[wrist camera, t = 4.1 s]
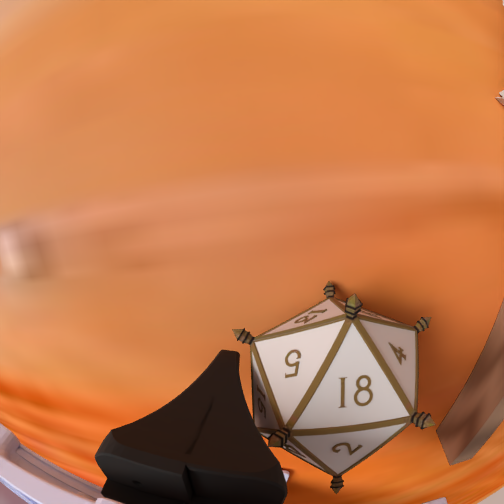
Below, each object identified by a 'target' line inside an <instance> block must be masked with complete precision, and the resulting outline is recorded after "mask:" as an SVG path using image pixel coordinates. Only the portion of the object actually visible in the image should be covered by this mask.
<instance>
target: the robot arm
mask: <svg viewBox="0 0 504 504" xmlns="http://www.w3.org/2000/svg"><path fill="white" fill-rule="evenodd" d="M239 358H240V354H239V353H238V352H237V351H229V350H221V351H220V352H219V353H218V355H217V356H216V357H215V359H214V360H213V361H212V363H211V364H210V365H209V366H208V367H207V369H206V370H205V371H204V372H203V373H202V374H201V375H200V376H199V377H198V378H197V379H196V380H195V381H194V382H193V383H192V384H191V385H190V386H189V387H188V388H187V389H186V390H185V391H183V392H182V393H181V394H180V395H178V396H177V397H176V398H175V399H173V400H172V401H170V402H169V403H168V404H166V405H164V406H163V407H161V408H160V409H158V410H157V411H155V412H153V413H151V414H149V415H147V416H145V417H143V418H141V419H139V420H137V421H135V422H133V423H130V424H127V425H124V426H122V427H119V428H116V429H112V430H111V431H110V432H109V434H108V435H107V436H106V438H105V439H104V440H103V442H102V444H101V445H100V447H99V449H98V451H97V453H96V454H95V460H96V462H97V464H98V465H99V467H100V468H101V470H102V471H103V473H104V474H105V475H106V477H107V480H106V482H105V484H104V486H103V488H102V487H99V486H97V485H95V484H93V483H90V482H88V481H86V480H84V479H82V478H80V477H78V476H76V475H74V474H72V473H70V472H68V471H66V470H64V469H62V468H60V467H58V466H57V465H55V464H53V463H51V462H50V461H48V460H46V459H44V458H43V457H41V456H39V455H38V454H36V453H35V452H33V451H31V450H30V449H28V448H27V447H25V446H24V445H22V444H21V443H20V441H19V440H18V438H17V437H16V436H15V435H14V434H13V433H12V432H11V431H10V430H9V429H8V428H6V427H5V426H3V425H2V424H1V423H0V482H2V483H3V484H4V485H5V486H7V487H8V488H9V489H10V490H11V491H13V492H14V493H15V494H17V495H18V496H19V497H21V498H22V499H23V500H25V501H26V502H27V503H29V504H283V502H284V500H285V498H286V496H287V484H286V483H287V480H288V478H289V472H288V471H286V470H282V468H281V465H280V462H279V461H278V460H277V459H276V457H275V456H274V455H273V453H272V452H271V450H270V449H269V448H268V446H267V444H266V443H265V441H264V440H263V438H262V436H261V434H260V433H259V431H258V429H257V427H256V425H255V423H254V421H253V419H252V416H251V414H250V412H249V409H248V406H247V404H246V401H245V397H244V394H243V390H242V386H241V381H240V376H239ZM422 504H447V500H446V497H442V498H439V499H436V500H432V501H429V502H425V503H422Z"/></svg>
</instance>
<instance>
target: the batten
mask: <svg viewBox="0 0 504 504" xmlns="http://www.w3.org/2000/svg"><path fill="white" fill-rule="evenodd" d="M503 419H504V300H503V303H502V306H501V308H500V311H499V314H498V316H497V319H496V321H495V324H494V326H493V329H492V331H491V333H490V336H489V338H488V340H487V343H486V345H485V347H484V349H483V351H482V353H481V355H480V358H479V360H478V362H477V364H476V366H475V367H474V369H473V371H472V373H471V375H470V377H469V379H468V381H467V382H466V384H465V386H464V388H463V389H462V391H461V393H460V395H459V396H458V398H457V400H456V401H455V403H454V404H453V406H452V408H451V409H450V411H449V412H448V414H447V415H446V417H445V418H444V420H443V421H442V423H441V424H440V426H439V427H438V429H437V430H436V432H437V434H438V437H439V439H440V442H441V444H442V447H443V449H444V452H445V454H446V457H447V460H448V462H449V465H453V464H456V463H460V462H463V461H466V460H469V459H471V458H472V457H473V456H474V455H475V454H476V453H477V452H478V451H479V449H480V448H481V447H482V446H483V445H484V444H485V442H486V441H487V440H488V439H489V438H490V436H491V435H492V434H493V433H494V431H495V430H496V429H497V427H498V426H499V425H500V423H501V422H502V421H503Z"/></svg>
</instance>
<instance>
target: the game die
mask: <svg viewBox="0 0 504 504" xmlns="http://www.w3.org/2000/svg"><path fill="white" fill-rule="evenodd" d="M323 290H325V293H324V295H326V297H327V299H325V300H323V301H322V302H320V303H318V304H316V305H315V306H313V307H311V308H309V309H307V310H306V311H304V312H302V313H300V314H298V315H296V316H295V317H293V318H291V319H289V320H287V321H285V322H283V323H281V324H280V325H278V326H276V327H274V328H272V329H270V330H268V331H266V332H264V333H262V334H260V335H258V336H256V337H253V336H252V335H251V334H250V332H247V331H245V328H244V329H232V330H233V332H234V334H235V336H236V338H237V341H238V340H240V341H242V343H248V344H249V345H250V353H251V380H252V406H253V421H254V423H255V425H256V427H257V429H258V431H259V433H260V434H261V435H262V436H263V437H265V438H266V439H268V440H269V442H268V447H281V448H283V449H284V450H286V451H288V452H289V453H291V454H293V455H295V456H296V457H298V458H300V459H302V460H303V461H305V462H307V463H309V464H311V465H313V466H314V467H316V468H318V469H320V470H322V471H324V472H326V473H328V474H330V475H332V476H333V480H332V481H331V483H332V485H331V486H330V488H332V489H333V491H334V492H335V493H336V494H337V493H338V492H339V490H340V489H341V488H342V487H343V486H344V485H343V482H344V480H342V477H341V476H342V475H343V474H344V473H346V472H347V471H349V470H350V469H352V468H353V467H355V466H356V465H358V464H359V463H361V462H362V461H364V460H365V459H367V458H368V457H369V456H371V455H372V454H373V453H375V452H376V451H378V450H379V449H380V448H382V447H383V446H384V445H385V444H387V443H388V442H389V441H391V440H392V439H393V438H394V437H395V436H397V435H398V434H399V433H400V432H402V431H403V430H404V429H405V428H406V427H407V426H409V425H410V424H411V423H414V424H415V426H416V427H418V426H419V427H421V429H424V428H427V427H429V426H434V425H435V423H434V421H433V420H432V418H431V415H430V413H428V414H425V413H424V412H422V413H417V407H418V379H419V359H418V333H419V332H420V331H425V330H424V329H425V328H429V327H428V325H429V322H430V319H431V317H425V318H423V317H421V320H420V321H417V324H416V325H415V326H414V327H413V326H410V325H407V324H405V323H402V322H399V321H396V320H394V319H391V318H388V317H386V316H383V315H380V314H377V313H375V312H372V311H369V310H367V309H364V308H361V306H362V305H363V304H362V303H361V301H360V300H359V299H358V298H357V296H356V294H353V295H352V296H351V297H350V298H347V299H346V302H345V301H342V300H340V299H337V298H334V294H335V291H334V290H335V287H334V285H332V284H331V283H330V282H329V281H328V283H327V285H326V287H325V288H324V289H323Z"/></svg>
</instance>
